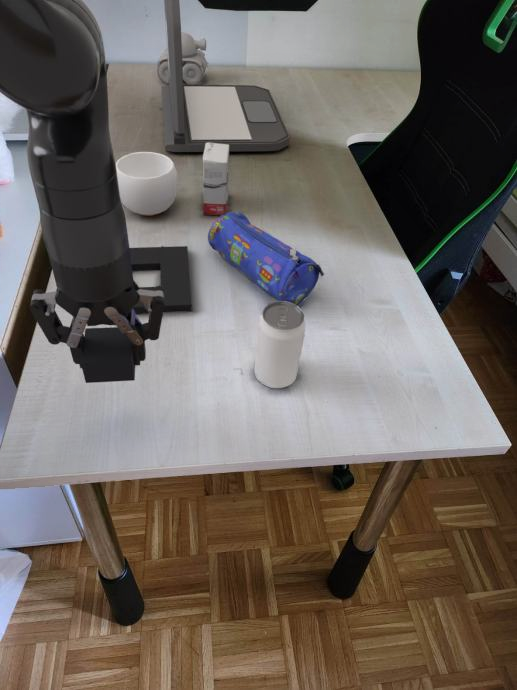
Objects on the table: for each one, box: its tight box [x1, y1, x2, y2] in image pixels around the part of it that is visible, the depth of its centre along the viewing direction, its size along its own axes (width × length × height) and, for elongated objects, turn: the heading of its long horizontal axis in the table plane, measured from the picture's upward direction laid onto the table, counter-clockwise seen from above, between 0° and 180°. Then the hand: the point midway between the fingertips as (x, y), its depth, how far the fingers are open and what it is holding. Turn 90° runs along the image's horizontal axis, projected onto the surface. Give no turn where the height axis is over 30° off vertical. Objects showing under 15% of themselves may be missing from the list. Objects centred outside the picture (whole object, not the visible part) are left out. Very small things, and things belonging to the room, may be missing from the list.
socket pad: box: [129, 245, 193, 315], centre depth 90 cm, size 16×16×2 cm
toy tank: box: [156, 31, 209, 85], centre depth 154 cm, size 15×11×13 cm
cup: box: [115, 151, 178, 217], centre depth 104 cm, size 12×12×10 cm
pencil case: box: [207, 211, 325, 307], centre depth 90 cm, size 22×9×10 cm, turn 42°
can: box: [253, 300, 307, 389], centre depth 73 cm, size 6×6×12 cm
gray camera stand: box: [161, 0, 291, 153], centre depth 128 cm, size 38×31×32 cm
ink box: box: [202, 143, 230, 216], centre depth 105 cm, size 9×5×12 cm, turn 179°
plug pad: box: [81, 326, 136, 384], centre depth 60 cm, size 6×6×4 cm
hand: (111, 361), depth 61 cm, fingers closed on plug pad, 5 cm apart
